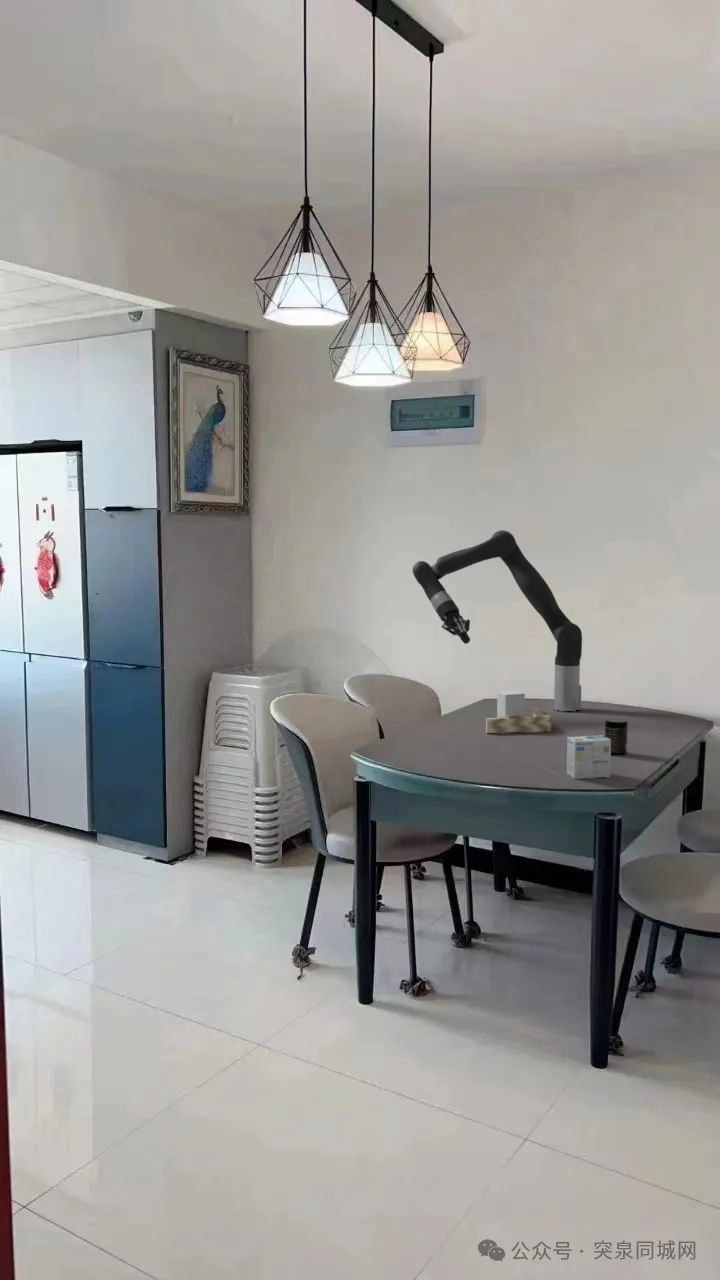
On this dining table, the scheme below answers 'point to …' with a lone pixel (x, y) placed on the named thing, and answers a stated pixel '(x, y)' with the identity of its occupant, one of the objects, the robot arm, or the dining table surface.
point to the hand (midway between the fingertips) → (467, 642)
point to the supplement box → (510, 704)
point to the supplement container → (617, 735)
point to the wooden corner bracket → (520, 723)
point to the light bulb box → (588, 756)
